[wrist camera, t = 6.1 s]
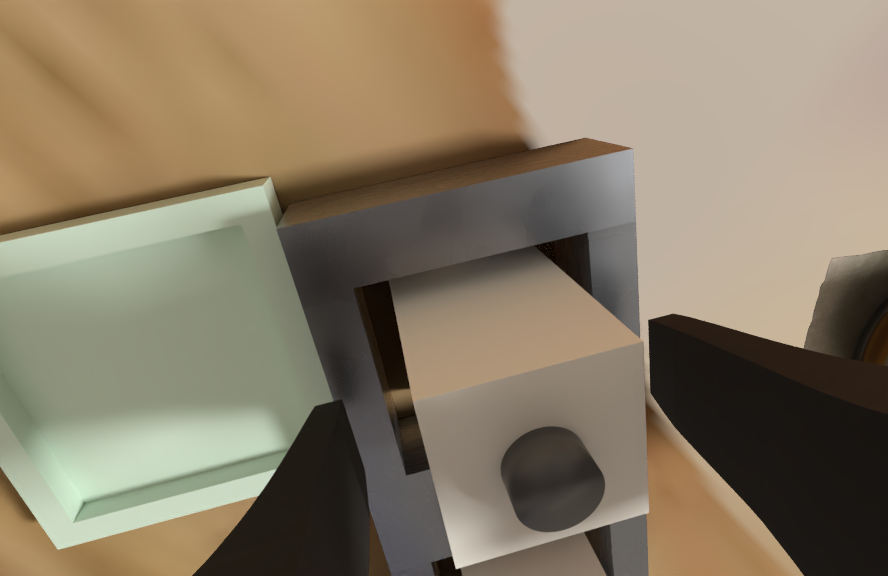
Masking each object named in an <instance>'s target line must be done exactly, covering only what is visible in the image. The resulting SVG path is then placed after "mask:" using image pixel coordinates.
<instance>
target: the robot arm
mask: <svg viewBox="0 0 888 576" xmlns="http://www.w3.org/2000/svg"><path fill="white" fill-rule="evenodd" d="M648 325H649V358H650V391H651V394H652V396H653V397H654V399H655V400H656V402H657V403H658V405H659V406H660V407H661V409H662V410H663V412H664V413H665V415H666V416H667V417H668V419H669V420H670V421H671V423H672V424H673V425H674V427H675V428H676V429H677V430H678V431H679V432H680V434H681V435H682V436H683V437H684V438H685V439H686V440H687V441H688V442H689V443H690V444H691V445H692V447H693V448H694V449H695V450H696V451H697V452H698V453H699V454H700V455H701V456H702V457H703V458H704V459H705V460H706V461H707V462H708V463H709V465H710V466H711V467H712V468H713V469H714V470H715V471H716V472H717V473H718V474H719V475H720V476H721V477H722V478H723V479H724V480H725V481H726V482H727V483H728V485H729V486H730V487H731V488H732V489H733V490H734V491H735V492H736V493H737V494H738V495H739V496H740V497H741V498H742V499H743V500H744V501H745V503H746V504H747V505H748V506H749V507H750V508H751V509H752V510H753V511H754V513H755V514H756V515H757V516H758V517H759V518H760V519H761V521H762V522H763V523H764V524H765V526H766V527H767V528H768V529H769V531H770V532H771V533H772V534H773V536H774V537H775V538H776V540H777V541H778V542H779V543H780V545H781V546H782V547H783V549H784V550H785V551H786V552H787V554H788V555H789V556H790V558H791V559H792V560H793V561H794V563H795V564H796V565H797V567H798V568H799V569H800V571H801V572H802V573H803V575H804V576H888V366H884V365H879V364H873V363H868V362H862V361H857V360H851V359H846V358H841V357H837V356H832V355H828V354H823V353H819V352H815V351H811V350H807V349H802V348H799V347H794V346H790V345H786V344H783V343H779V342H775V341H771V340H768V339H764V338H761V337H757V336H754V335H750V334H747V333H743V332H740V331H737V330H733V329H730V328H726V327H723V326H719V325H716V324H713V323H709V322H705V321H701V320H698V319H694V318H691V317H686V316H682V315H677V314H670V315H666V316H663V317H659V318H655V319H651V320H648ZM369 515H370V513H369V502H368V492H367V483H366V474H365V468H364V465H363V462H362V459H361V456H360V453H359V450H358V447H357V444H356V440H355V437H354V434H353V431H352V428H351V425H350V422H349V419H348V416H347V413H346V409H345V406H344V403H343V400H342V399H340V400H337V401H333V402H329V403H325V404H321V405H317V406H315V407H314V408H313V410H312V411H311V413H310V414H309V416H308V418H307V419H306V421H305V423H304V425H303V426H302V428H301V430H300V432H299V433H298V435H297V437H296V438H295V440H294V442H293V443H292V445H291V447H290V449H289V450H288V452H287V453H286V455H285V457H284V458H283V460H282V461H281V463H280V465H279V466H278V468H277V469H276V471H275V473H274V474H273V476H272V477H271V479H270V480H269V482H268V483H267V485H266V486H265V487H264V489H263V490H262V492H261V493H260V495H259V496H258V497H257V499H256V500H255V502H254V503H253V505H252V506H251V507H250V509H249V510H248V511H247V513H246V514H245V515H244V517H243V518H242V519H241V521H240V522H239V523H238V524H237V526H236V527H235V528H234V529H233V531H232V532H231V533H230V534H229V535H228V536H227V538H226V539H225V540H224V541H223V542H222V544H221V545H220V546H219V547H218V548H217V550H216V551H215V552H214V553H213V554H212V555H211V556H210V557H209V559H208V560H207V561H206V562H205V563H204V564H203V565H202V566H201V567H200V568H199V569H198V570H197V571H196V572H195V573H194V574H193V575H192V576H369Z"/></svg>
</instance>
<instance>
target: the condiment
mask: <svg viewBox="0 0 888 576" xmlns="http://www.w3.org/2000/svg"><path fill="white" fill-rule="evenodd" d="M804 349H807V350H811V351H815V352H819V353H823V354H828V355H832V356H837V357H841V358H846V359H851V360H857V361H862V362H868V363H873V364H879V365H884V366H888V250H883V251H878V252H872V253H868V254H863V255H856V256H845V257H838V258H832V259H831V262H830V264H829V267H828V271H827V274H826V279H825V281H824V282H823V283H822V285H821V287H820V292H819V297H818V299H817V302H816V306H815V309H814V313H813V319H812V322H811V325H810V326H809V329H808V333H807V337H806V341H805V345H804Z"/></svg>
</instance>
